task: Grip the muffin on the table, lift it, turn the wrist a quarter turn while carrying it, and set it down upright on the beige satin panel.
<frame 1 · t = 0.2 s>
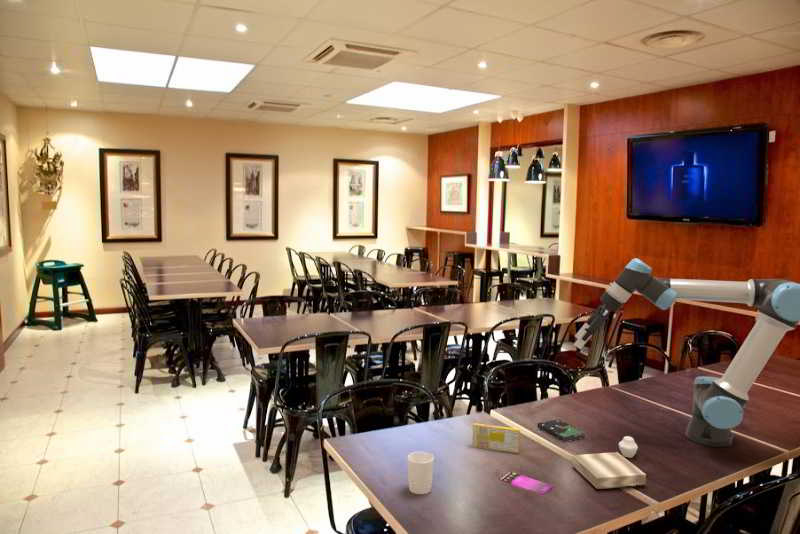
hand: (577, 342, 210), 35 cm above the table, tool tilted 35°, fingers open, 13 cm apart
beige satin panel: (607, 476, 181), on the table
white cup: (420, 489, 172), on the table
smartphone: (525, 484, 176), on the table
disk drive: (560, 435, 215), on the table
candy box: (495, 449, 201), on the table
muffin: (627, 456, 196), on the table
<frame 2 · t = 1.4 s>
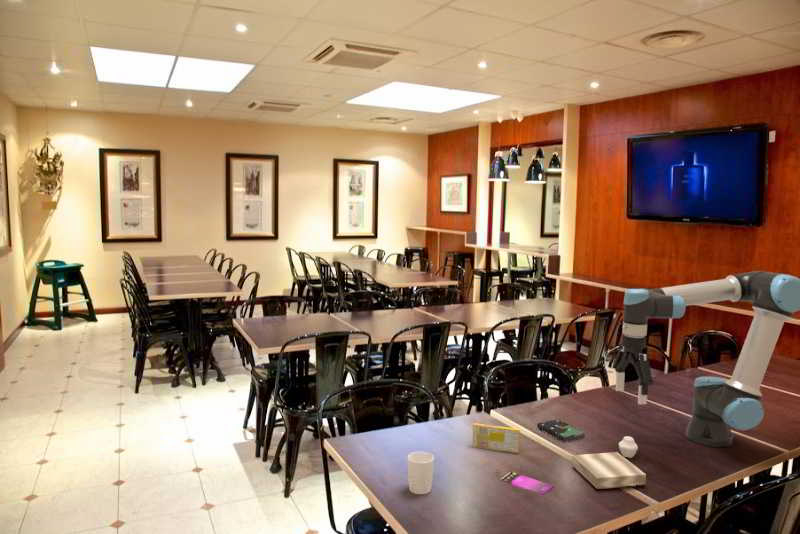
hand: (630, 397, 194), 21 cm above the table, tool pointing down, fingers open, 13 cm apart
nothing on the table moved.
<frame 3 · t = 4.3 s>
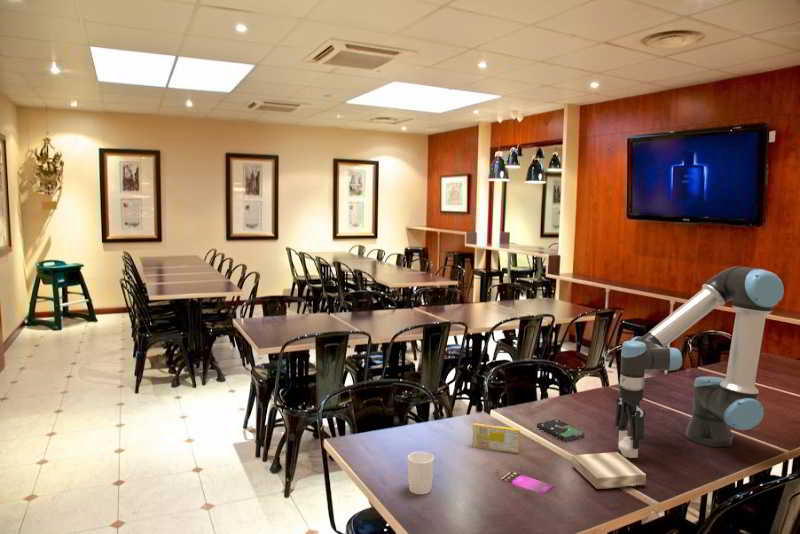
hand: (627, 452, 196), 1 cm above the table, tool pointing down, fingers closed on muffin, 6 cm apart
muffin: (627, 456, 196), on the table, touching gripper
everything else where it was.
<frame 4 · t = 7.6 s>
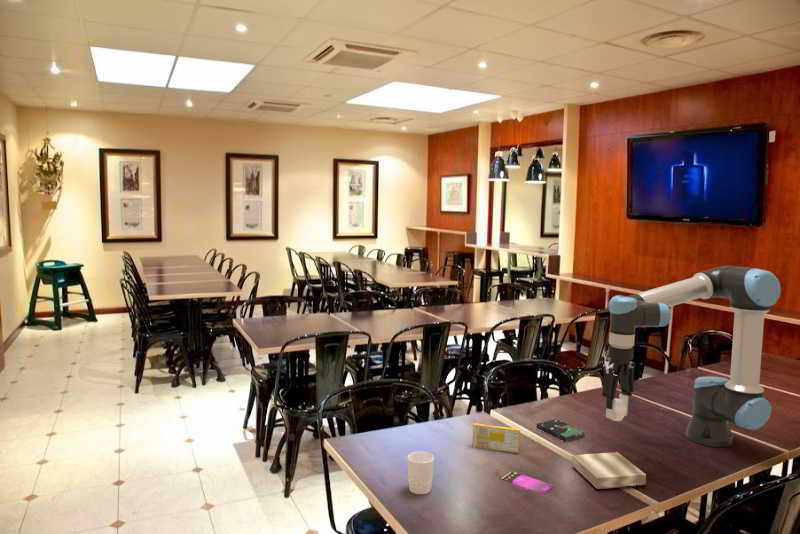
hand: (616, 416, 185), 18 cm above the table, tool pointing down, fingers closed on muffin, 6 cm apart
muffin: (616, 420, 185), point 16 cm above the table, touching gripper
everything else where it was.
when the fingers open (6 cm above the table, at t = 10.9 s): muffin drops 1 cm, resting on beige satin panel.
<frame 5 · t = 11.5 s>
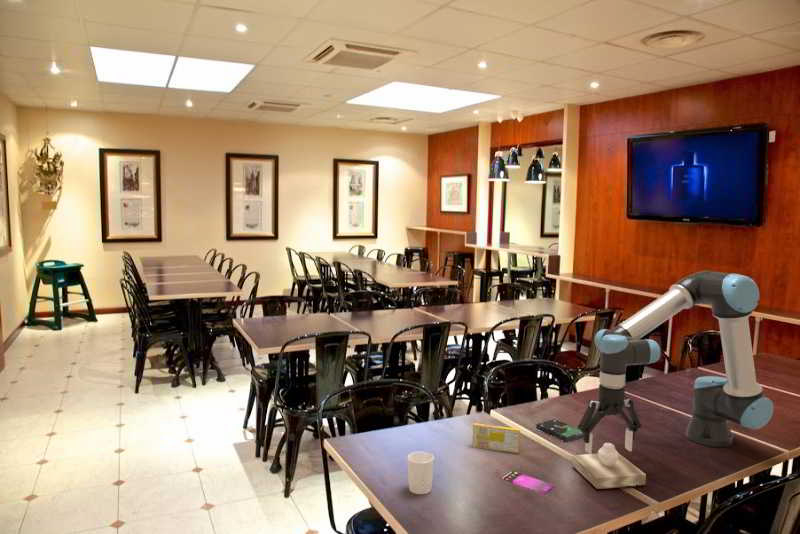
hand: (608, 451, 180), 8 cm above the table, tool pointing down, fingers open, 13 cm apart
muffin: (607, 465, 180), point 4 cm above the table, touching beige satin panel
everything else where it was.
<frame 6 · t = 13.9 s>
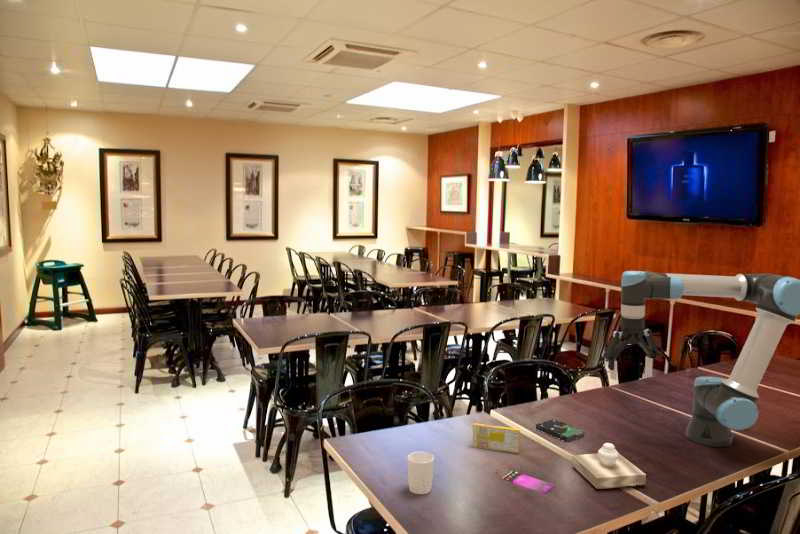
hand: (631, 377, 197), 26 cm above the table, tool pointing down, fingers open, 13 cm apart
nothing on the table moved.
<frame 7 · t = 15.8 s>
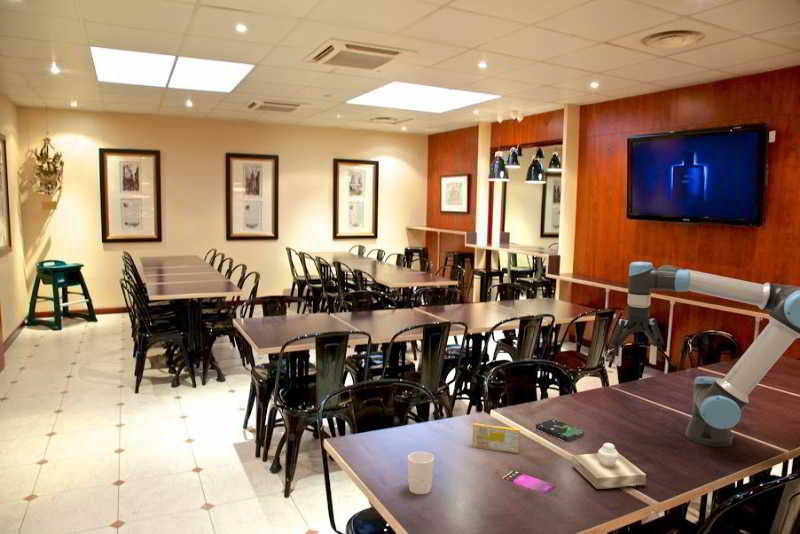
hand: (635, 364, 205), 29 cm above the table, tool pointing down, fingers open, 13 cm apart
at the end: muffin inside the target area on the beige satin panel (0.1 cm from its centre), point 3.8 cm above the beige satin panel's base; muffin tilted 0°; the gripper is holding nothing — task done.
